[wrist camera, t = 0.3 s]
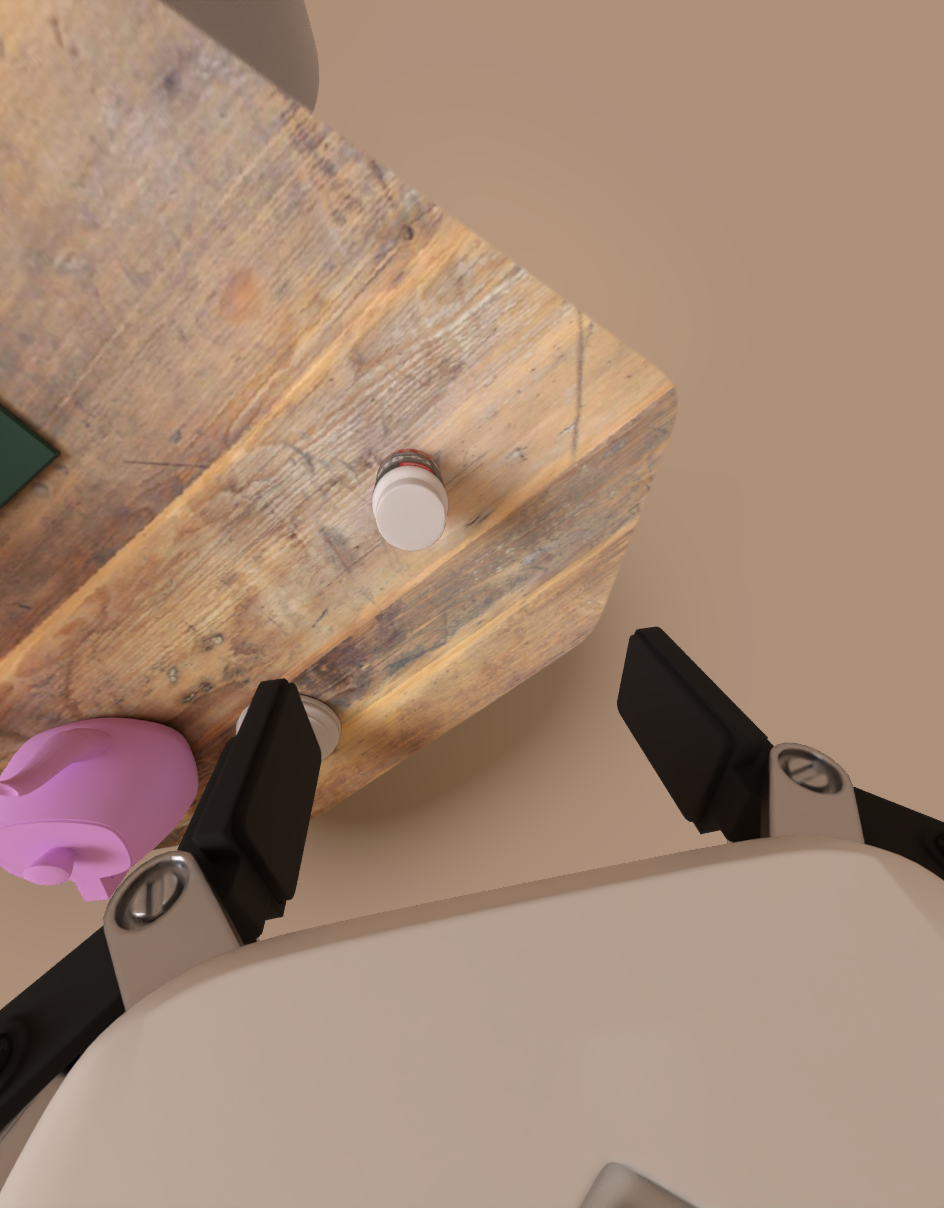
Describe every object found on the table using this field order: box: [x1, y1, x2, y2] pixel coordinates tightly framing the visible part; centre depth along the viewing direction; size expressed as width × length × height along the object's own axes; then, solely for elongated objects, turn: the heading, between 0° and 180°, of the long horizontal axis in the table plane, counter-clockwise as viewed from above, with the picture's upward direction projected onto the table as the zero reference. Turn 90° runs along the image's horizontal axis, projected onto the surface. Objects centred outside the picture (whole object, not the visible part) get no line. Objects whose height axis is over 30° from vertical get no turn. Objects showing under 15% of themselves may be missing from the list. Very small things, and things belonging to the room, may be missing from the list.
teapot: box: [0, 718, 198, 901], centre depth 34 cm, size 13×20×11 cm
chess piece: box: [236, 695, 341, 760], centre depth 34 cm, size 10×10×15 cm
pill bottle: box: [372, 449, 449, 551], centre depth 26 cm, size 5×5×8 cm
